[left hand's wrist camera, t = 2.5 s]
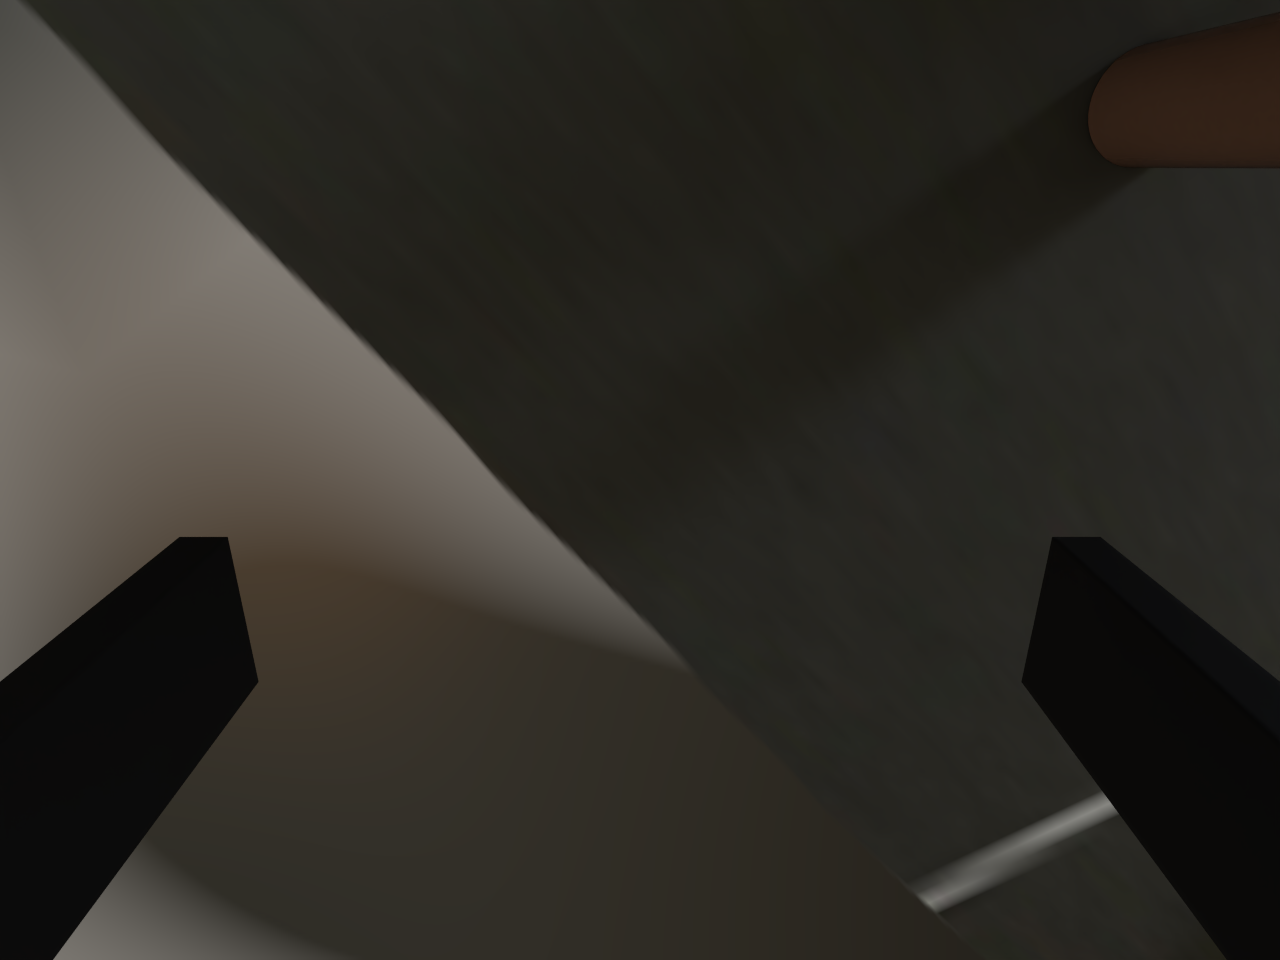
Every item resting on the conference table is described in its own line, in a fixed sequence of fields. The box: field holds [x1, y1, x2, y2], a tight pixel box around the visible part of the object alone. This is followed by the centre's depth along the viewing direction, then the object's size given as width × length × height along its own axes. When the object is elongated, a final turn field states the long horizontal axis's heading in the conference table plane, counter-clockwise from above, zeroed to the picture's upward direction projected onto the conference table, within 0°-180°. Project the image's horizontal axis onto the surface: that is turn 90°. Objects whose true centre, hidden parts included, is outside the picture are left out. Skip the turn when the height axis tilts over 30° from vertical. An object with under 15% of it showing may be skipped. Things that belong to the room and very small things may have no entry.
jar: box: [1088, 12, 1280, 168], centre depth 28 cm, size 5×5×15 cm
